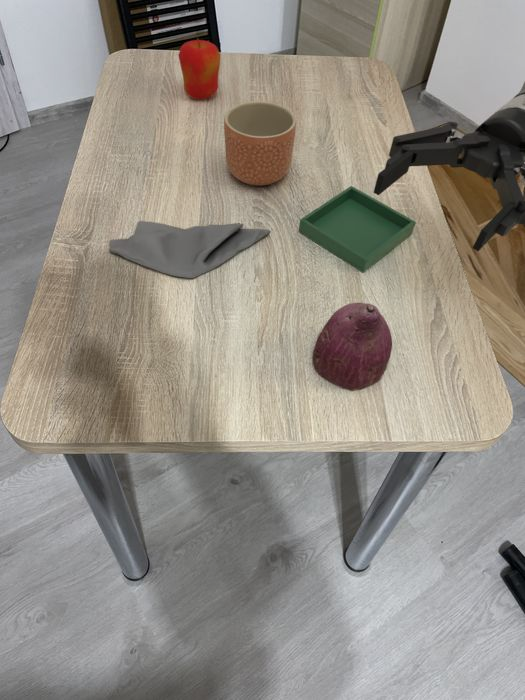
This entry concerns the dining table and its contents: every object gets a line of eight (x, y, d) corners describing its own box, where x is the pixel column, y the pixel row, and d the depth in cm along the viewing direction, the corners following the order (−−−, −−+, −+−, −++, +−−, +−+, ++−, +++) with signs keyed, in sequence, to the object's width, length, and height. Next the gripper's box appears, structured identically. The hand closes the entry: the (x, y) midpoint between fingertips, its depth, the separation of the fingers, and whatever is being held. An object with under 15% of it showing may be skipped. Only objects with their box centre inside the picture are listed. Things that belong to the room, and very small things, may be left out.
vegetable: (377, 404, 74) (421, 365, 60) (304, 387, 73) (331, 344, 59) (385, 336, 78) (428, 285, 64) (316, 319, 77) (344, 264, 64)
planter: (291, 157, 104) (296, 101, 96) (291, 196, 97) (296, 139, 88) (227, 153, 104) (226, 98, 95) (222, 192, 96) (221, 135, 88)
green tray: (412, 234, 91) (416, 221, 89) (363, 272, 85) (366, 260, 83) (348, 197, 97) (351, 185, 95) (298, 231, 91) (300, 219, 88)
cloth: (100, 277, 82) (97, 266, 80) (115, 219, 90) (113, 208, 89) (271, 281, 83) (271, 271, 81) (269, 224, 91) (270, 213, 90)
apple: (197, 109, 114) (194, 50, 105) (173, 93, 118) (168, 35, 108) (228, 97, 118) (228, 39, 108) (204, 82, 121) (202, 25, 112)
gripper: (586, 202, 70) (512, 290, 60) (423, 123, 79) (335, 188, 69) (620, 151, 64) (543, 240, 54) (439, 71, 73) (345, 136, 63)
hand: (426, 211), depth 62 cm, fingers open, 13 cm apart
